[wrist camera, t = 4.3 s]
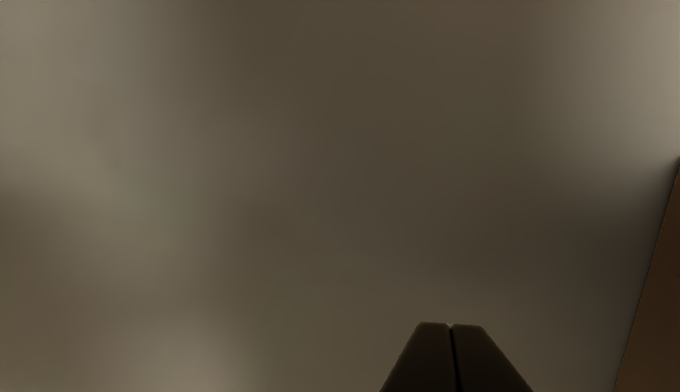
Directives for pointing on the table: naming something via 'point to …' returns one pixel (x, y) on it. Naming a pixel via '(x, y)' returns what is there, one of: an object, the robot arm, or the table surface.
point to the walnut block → (657, 316)
